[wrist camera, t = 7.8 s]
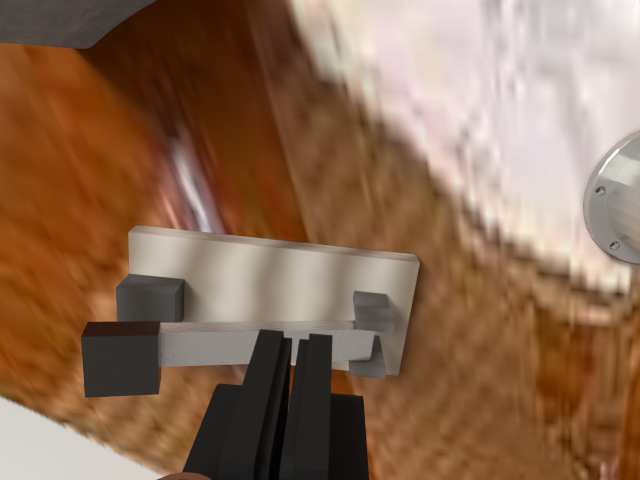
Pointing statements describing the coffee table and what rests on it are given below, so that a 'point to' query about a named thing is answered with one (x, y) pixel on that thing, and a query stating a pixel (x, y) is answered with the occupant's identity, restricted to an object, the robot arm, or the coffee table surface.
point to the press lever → (192, 349)
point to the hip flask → (63, 21)
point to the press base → (270, 286)
